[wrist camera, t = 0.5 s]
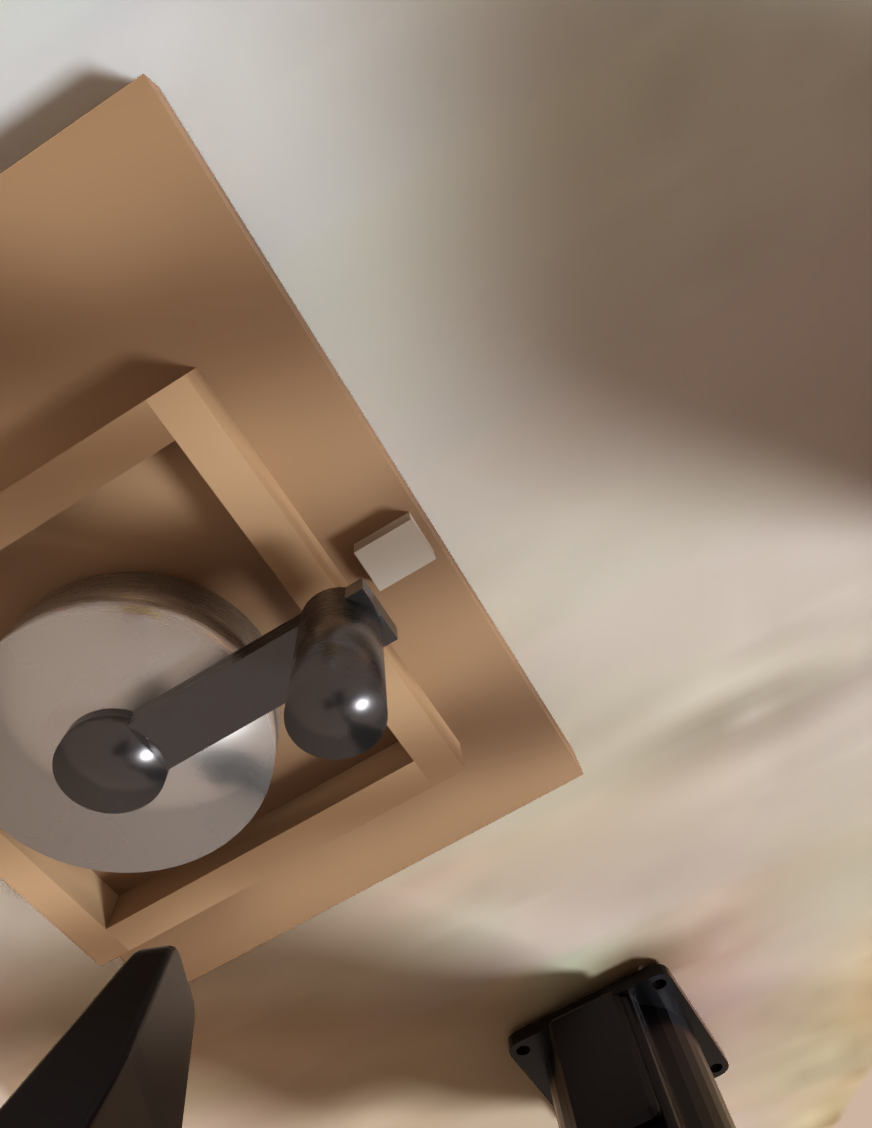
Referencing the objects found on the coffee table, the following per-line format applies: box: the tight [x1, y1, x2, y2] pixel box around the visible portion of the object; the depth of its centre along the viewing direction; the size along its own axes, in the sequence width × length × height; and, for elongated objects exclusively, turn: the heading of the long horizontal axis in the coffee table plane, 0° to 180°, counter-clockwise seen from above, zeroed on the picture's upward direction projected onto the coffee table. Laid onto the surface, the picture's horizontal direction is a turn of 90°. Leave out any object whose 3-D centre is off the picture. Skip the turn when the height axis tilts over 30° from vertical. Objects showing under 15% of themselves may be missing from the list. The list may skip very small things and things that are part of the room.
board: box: [0, 74, 583, 983], centre depth 19 cm, size 20×15×2 cm
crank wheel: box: [0, 571, 398, 873], centre depth 16 cm, size 10×7×6 cm, turn 121°
